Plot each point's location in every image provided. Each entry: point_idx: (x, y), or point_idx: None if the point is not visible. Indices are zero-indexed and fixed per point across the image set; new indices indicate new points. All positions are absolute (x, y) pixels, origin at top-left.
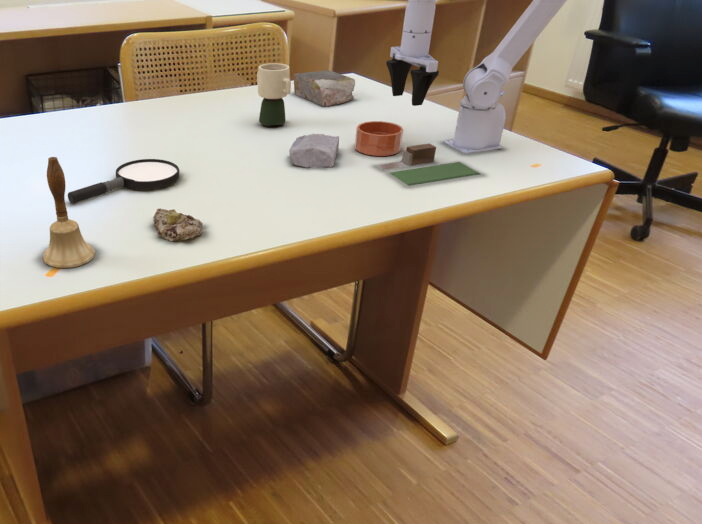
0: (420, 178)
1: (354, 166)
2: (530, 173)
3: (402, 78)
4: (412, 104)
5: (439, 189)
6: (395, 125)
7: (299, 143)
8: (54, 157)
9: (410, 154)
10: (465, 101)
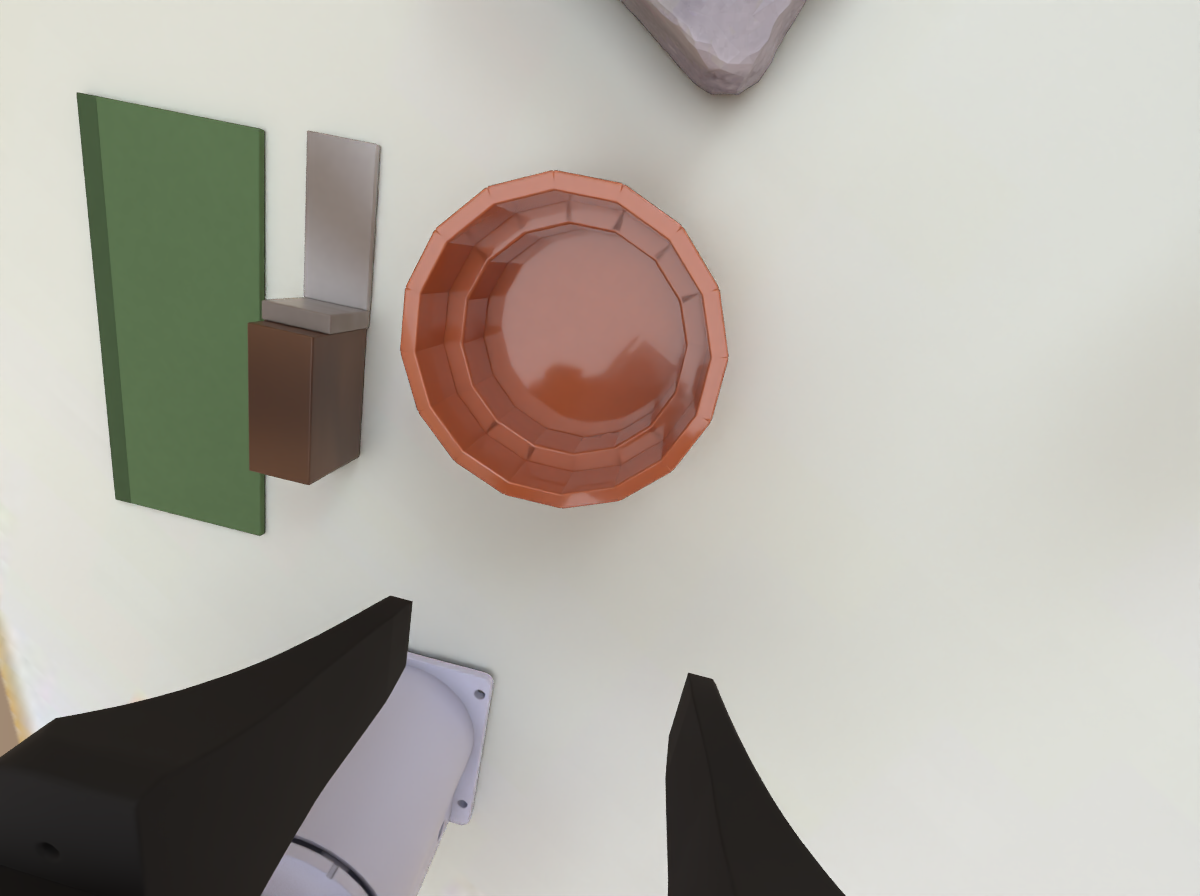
0: (140, 220)
1: (443, 20)
2: (93, 654)
3: (680, 867)
4: (402, 601)
5: (30, 217)
6: (559, 492)
7: None
8: None
9: (265, 307)
10: (298, 887)
